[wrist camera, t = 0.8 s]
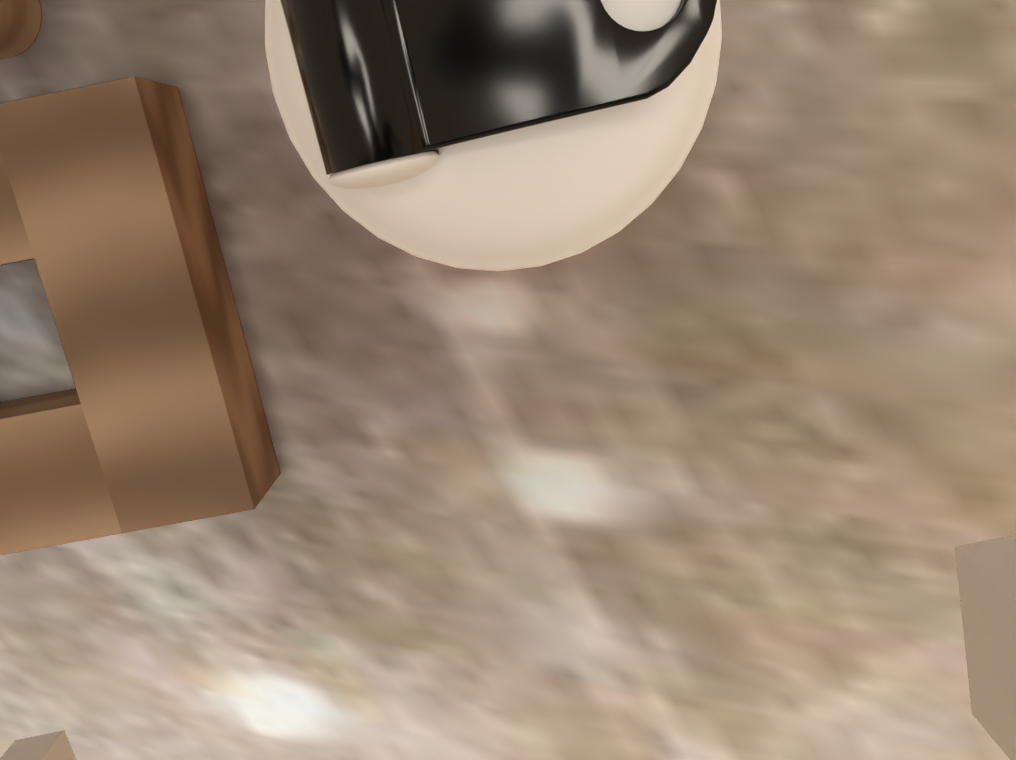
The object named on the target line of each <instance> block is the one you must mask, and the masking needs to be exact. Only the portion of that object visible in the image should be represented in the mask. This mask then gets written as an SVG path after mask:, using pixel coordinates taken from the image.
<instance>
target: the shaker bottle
mask: <svg viewBox="0 0 1016 760" xmlns="http://www.w3.org/2000/svg"><path fill="white" fill-rule="evenodd" d="M721 42H722V26H721V9H720V0H265V52H266V57H267V63H268V69H269V74H270V80H271V86H272V91H273V96H274V98H275V101H276V104H277V106H278V109H279V112H280V114H281V117H282V120H283V122H284V125H285V128H286V130H287V133H288V136H289V138H290V140H291V142H292V143H293V145H294V147H295V148H296V150H297V152H298V153H299V155H300V157H301V158H302V160H303V162H304V163H305V165H306V166H307V168H308V170H309V171H310V173H311V175H312V176H313V178H314V179H315V180H316V181H317V182H318V183H319V185H320V186H321V187H322V188H323V189H324V190H325V191H326V192H327V194H328V195H329V196H330V197H331V198H332V199H333V200H334V201H335V203H336V204H337V205H338V206H339V207H340V208H341V209H342V210H343V211H344V212H345V213H346V214H348V215H349V216H350V217H352V218H353V219H354V220H355V221H357V222H358V223H359V224H361V225H362V226H363V227H365V228H366V229H367V230H368V231H370V232H371V233H372V234H374V235H375V236H376V237H378V238H379V239H381V240H383V241H385V242H387V243H389V244H391V245H393V246H395V247H397V248H399V249H401V250H403V251H405V252H407V253H409V254H411V255H413V256H415V257H418V258H422V259H426V260H429V261H433V262H436V263H440V264H444V265H447V266H451V267H454V268H460V269H474V270H487V271H507V270H515V269H523V268H531V267H539V266H544V265H547V264H550V263H553V262H556V261H559V260H562V259H565V258H568V257H571V256H574V255H577V254H580V253H582V252H584V251H586V250H588V249H590V248H591V247H593V246H595V245H597V244H598V243H600V242H602V241H604V240H606V239H607V238H609V237H611V236H613V235H614V234H616V233H618V232H620V231H621V230H622V229H623V228H624V227H625V226H627V225H628V224H629V223H630V222H631V221H632V220H634V219H635V218H636V217H637V216H638V215H640V214H641V213H642V212H643V211H644V210H645V209H647V208H648V207H649V206H650V205H651V204H652V203H653V202H654V201H655V200H656V199H657V197H658V196H659V195H660V194H661V192H662V191H663V190H664V189H665V187H666V186H667V185H668V184H669V182H670V181H671V180H672V179H673V177H674V176H675V175H676V174H677V172H678V171H679V170H680V169H681V167H682V165H683V163H684V161H685V159H686V158H687V156H688V154H689V152H690V150H691V148H692V146H693V144H694V143H695V141H696V139H697V137H698V135H699V133H700V131H701V130H702V127H703V124H704V121H705V118H706V115H707V111H708V108H709V105H710V102H711V99H712V96H713V93H714V89H715V86H716V82H717V74H718V66H719V58H720V50H721Z"/></svg>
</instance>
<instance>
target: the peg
mask: <svg viewBox="0 0 1016 760" xmlns="http://www.w3.org/2000/svg"><path fill="white" fill-rule="evenodd" d="M40 25H41V6H40V2H39V0H0V58H9V57H13V56H16V55H18V54H20V53H22V52H23V51H25V50H26V49H27V48H28V47H30V45H31V44H32V43H33V42H34V40H35V38H36V37H37V34H38V32H39V29H40Z"/></svg>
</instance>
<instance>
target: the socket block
mask: <svg viewBox="0 0 1016 760" xmlns="http://www.w3.org/2000/svg"><path fill="white" fill-rule="evenodd" d="M34 258H35V261H36V265H37V268H38V271H39V274H40V277H41V280H42V283H43V287H44V290H45V293H46V296H47V299H48V302H49V305H50V309H51V312H52V315H53V318H54V321H55V324H56V327H57V330H58V334H59V337H60V340H61V343H62V346H63V349H64V352H65V356H66V359H67V362H68V365H69V368H70V371H71V374H72V378H73V381H74V384H75V387H76V389H70V390H65V391H60V392H55V393H49V394H44V395H39V396H33V397H28V398H23V399H17V400H12V401H7V402H2V403H0V555H5V554H10V553H16V552H21V551H27V550H32V549H38V548H43V547H49V546H54V545H60V544H65V543H71V542H76V541H82V540H87V539H93V538H98V537H104V536H109V535H115V534H120V533H126V532H131V531H137V530H142V529H148V528H153V527H159V526H164V525H170V524H175V523H181V522H186V521H192V520H197V519H203V518H208V517H214V516H219V515H225V514H230V513H236V512H241V511H247V510H252V509H255V507H256V506H257V505H258V503H259V502H260V501H261V499H262V498H263V496H264V495H265V494H266V492H267V491H268V490H269V488H270V487H271V486H272V484H273V483H274V482H275V480H276V479H277V477H278V476H279V475H280V470H279V466H278V463H277V459H276V455H275V451H274V448H273V444H272V440H271V436H270V433H269V429H268V425H267V421H266V418H265V414H264V410H263V406H262V403H261V399H260V395H259V391H258V388H257V384H256V380H255V376H254V373H253V369H252V365H251V361H250V358H249V354H248V350H247V346H246V343H245V339H244V335H243V331H242V328H241V324H240V320H239V316H238V313H237V309H236V305H235V301H234V298H233V294H232V290H231V286H230V283H229V279H228V275H227V271H226V268H225V264H224V260H223V256H222V253H221V249H220V245H219V241H218V238H217V234H216V230H215V226H214V223H213V219H212V215H211V211H210V208H209V204H208V200H207V196H206V193H205V189H204V185H203V181H202V178H201V174H200V170H199V166H198V163H197V159H196V155H195V151H194V148H193V144H192V140H191V136H190V133H189V129H188V125H187V121H186V118H185V114H184V110H183V106H182V103H181V99H180V95H179V91H178V88H177V87H173V86H169V85H165V84H161V83H158V82H154V81H150V80H146V79H142V78H138V77H129V78H124V79H119V80H115V81H110V82H105V83H100V84H95V85H90V86H85V87H80V88H75V89H70V90H65V91H60V92H55V93H50V94H45V95H41V96H36V97H31V98H26V99H21V100H16V101H11V102H6V103H1V104H0V265H4V264H9V263H14V262H19V261H24V260H29V259H34Z"/></svg>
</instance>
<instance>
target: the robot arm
mask: <svg viewBox="0 0 1016 760" xmlns="http://www.w3.org/2000/svg"><path fill="white" fill-rule="evenodd" d="M955 553H956V562H957V572H958V582H959V592H960V601H961V611H962V621H963V630H964V640H965V650H966V660H967V669H968V679H969V689H970V698H971V708H972V714H973V716H974V717H975V718H976V719H977V720H978V722H979V723H980V724H981V725H982V726H983V727H984V729H985V730H986V731H987V732H988V733H989V735H990V736H991V737H992V738H993V739H994V741H995V742H996V743H997V744H998V745H999V747H1000V748H1001V749H1002V750H1003V751H1004V753H1005V754H1006V755H1007V756H1008V757H1009V759H1010V760H1016V540H1015V539H1014V538H1012V537H1011V536H1007V537H1002V538H997V539H992V540H987V541H982V542H977V543H973V544H968V545H963V546H958V547H955ZM0 760H76V757H75V755H74V753H73V750H72V748H71V746H70V743H69V741H68V738H67V736H66V734H65V731H59V732H54V733H49V734H45V735H40V736H35V737H30V738H25V739H20V740H15V741H14V743H13V744H12V745H11V746H10V747H9V749H8V750H7V751H6V752H5V753H4V755H3V756H2V757H1V758H0Z"/></svg>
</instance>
